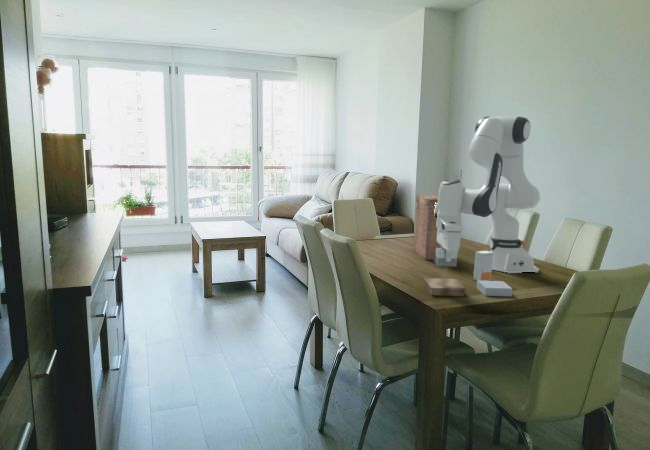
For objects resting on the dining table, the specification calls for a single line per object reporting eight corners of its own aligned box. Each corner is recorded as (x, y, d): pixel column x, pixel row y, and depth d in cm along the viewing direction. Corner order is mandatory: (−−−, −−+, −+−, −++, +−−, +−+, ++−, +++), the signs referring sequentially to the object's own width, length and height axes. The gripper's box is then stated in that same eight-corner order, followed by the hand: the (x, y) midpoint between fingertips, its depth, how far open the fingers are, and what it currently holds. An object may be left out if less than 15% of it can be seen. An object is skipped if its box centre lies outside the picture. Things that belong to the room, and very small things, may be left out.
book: (413, 249, 256) (416, 194, 251) (430, 249, 256) (433, 194, 251) (425, 260, 231) (428, 199, 226) (444, 260, 231) (447, 199, 226)
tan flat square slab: (456, 286, 187) (457, 278, 186) (465, 296, 174) (466, 288, 173) (423, 285, 187) (424, 278, 186) (430, 295, 174) (431, 287, 174)
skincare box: (480, 281, 194) (482, 253, 192) (472, 279, 198) (475, 251, 196) (491, 280, 196) (493, 252, 194) (484, 278, 200) (486, 250, 198)
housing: (453, 263, 181) (454, 248, 180) (456, 266, 176) (457, 250, 175) (435, 263, 181) (436, 247, 180) (437, 265, 176) (438, 250, 175)
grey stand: (502, 288, 185) (502, 281, 185) (511, 296, 175) (512, 288, 175) (476, 287, 185) (477, 280, 185) (484, 295, 175) (485, 287, 175)
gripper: (433, 219, 186) (431, 253, 189) (446, 227, 166) (444, 265, 168) (449, 219, 186) (447, 253, 189) (464, 227, 166) (461, 265, 168)
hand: (446, 259), depth 178 cm, fingers closed on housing, 4 cm apart
